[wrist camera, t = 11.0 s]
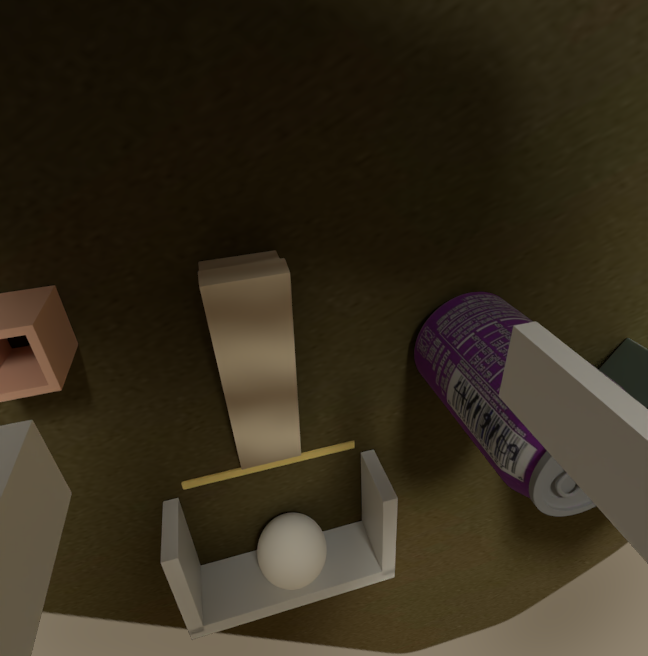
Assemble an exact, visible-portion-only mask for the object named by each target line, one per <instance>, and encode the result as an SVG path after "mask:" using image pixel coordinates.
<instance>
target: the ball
mask: <svg viewBox="0 0 648 656" xmlns="http://www.w3.org/2000/svg"><path fill="white" fill-rule="evenodd" d="M326 555H327V545H326V540H325V536H324V534H323V532H322V530H321V528H320V527H319V525H318V524H317V523H316V522H315V521H314V520H313V519H311V518H310V517H308V516H306V515H304V514H301V513H295V512H291V513H285V514H282V515H279V516H277V517H276V518H274V519H273V520H272V521H270V522H269V523H268V524H267V525H266V527H265V528H264V530H263V531H262V533H261V535H260V538H259V541H258V546H257V559H258V563H259V567H260V569H261V571H262V573H263V575H264V576H265V577H266V579H267V580H268V581H269V582H271V583H272V584H273V585H275V586H277V587H279V588H282V589H286V590H296V589H300V588H303V587H305V586H307V585H309V584H310V583H312V582H313V581H314V580H315V579H316V578H317V577H318V575H319V574H320V572H321V571H322V569H323V566H324V564H325V560H326Z"/></svg>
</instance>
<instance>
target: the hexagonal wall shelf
mask: <svg viewBox="0 0 648 656" xmlns="http://www.w3.org/2000/svg"><path fill="white" fill-rule="evenodd" d="M599 370H600V371H601V372H603V373H604V374H605V375H607V376H608V377H609V378H611V379H612V380H613V381H615V382H616V383H617V384H619V385H620V386H621V387H622V388H623V389H624V390H625V391H626V392H627V393H628V394H629V395H630V396H632V397H633V398H634V399H635V400H637V401H638V402H639V403H641V404H642V405H643V406H644V407H648V349H647V348H645V347H643V346H641V345H640V344H638V343H636V342H635V341H633V340H631V339H629V338H627V339H625V341H624V342H623V343H622V344H621V345H620V346H619V347H618V348H617V350H616V351H615V352H614V353H613V354H612V355H611V356H610V357H609V358H608V360H607V361H606V362H605V363H604V364H603V365H602V366H601V367H600V368H599Z"/></svg>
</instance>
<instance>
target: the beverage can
mask: <svg viewBox="0 0 648 656" xmlns="http://www.w3.org/2000/svg"><path fill="white" fill-rule="evenodd" d="M530 322H533V321H532V320H530V319H529V318H528V317H526V316H525V315H524V314H522V313H521V312H520V311H518V310H517V309H515V308H514V307H513V306H511V305H510V304H509V303H507V302H506V301H505V300H503V299H502V298H500V297H499V296H497V295H495V294H492V293H488V292H471V293H466V294H463V295H460V296H457V297H455V298H453V299H451V300H449V301H448V302H446V303H445V304H443V305H442V306H440V307H439V308H438V309H437V310H436V311H435V312H434V313H433V314H432V315H431V316H430V317H429V318H428V319H427V321H426V322H425V323H424V325H423V327H422V328H421V330H420V332H419V334H418V337H417V340H416V343H415V349H414V359H415V364H416V367H417V369H418V371H419V372H420V374H421V375H422V376H423V378H424V379H425V380H426V382H427V383H428V384H429V385H430V387H431V388H432V389H433V391H434V392H435V393H436V395H437V396H438V397H439V398H440V400H441V401H442V402H443V404H444V405H445V406H446V407H447V409H448V410H449V411H450V413H451V414H452V415H453V416H454V418H455V419H456V420H457V422H458V423H459V424H460V425H461V427H462V428H463V429H464V431H465V432H466V433H467V435H468V436H469V437H470V438H471V440H472V441H473V442H474V444H475V445H476V446H477V447H478V449H479V450H480V451H481V453H482V454H483V455H484V456H485V458H486V459H487V460H488V462H489V463H490V464H491V466H492V467H493V468H494V469H495V471H496V472H497V473H498V475H499V476H500V477H501V478H502V480H503V481H504V482H505V483H506V484H507V485H508V486H509V487H510V488H511V489H513V490H515V491H516V492H518V493H520V494H522V495H524V496H526V497H528V498H530V499H531V500H532V502H533V503H534V504H535V506H536V507H537V508H538V509H539V510H540V511H541V512H542V513H544V514H547V515H550V516H569V515H574V514H578V513H581V512H584V511H586V510H589V509H591V508H593V507H595V506H596V505H595V504H594V503H593V502H592V500H591V499H590V498H589V497H588V496H587V495H586V494H585V493H584V492H583V490H582V489H581V488H580V487H579V486H578V485H577V484H576V483H575V481H574V480H573V479H572V478H571V477H570V476H569V475H568V474H567V472H566V471H565V470H564V469H563V468H562V467H561V466H560V465H559V464H558V462H557V461H556V460H555V459H554V458H553V457H552V456H551V455H550V453H549V452H548V451H547V450H546V449H545V448H544V447H543V446H542V444H541V443H540V442H539V441H538V440H537V439H536V438H535V437H534V436H533V434H532V433H531V432H530V431H529V430H528V429H527V428H526V427H525V425H524V424H523V423H522V422H521V421H520V420H519V419H518V418H517V416H516V415H515V414H514V413H513V412H512V411H511V410H510V409H509V408H508V406H507V405H506V404H505V403H504V402H503V401H502V400H501V399H500V397H499V392H500V387H501V383H502V378H503V373H504V368H505V363H506V359H507V354H508V349H509V344H510V340H511V335H512V330H513V326H515V325H520V324H525V323H530ZM587 362H588V361H587ZM588 363H589V362H588ZM591 365H592V364H591ZM592 366H593V365H592ZM595 368H596V367H595ZM596 369H597V368H596ZM597 370H598V369H597ZM599 371H600V370H599ZM600 372H601V371H600ZM601 373H602V374H604V373H603V372H601ZM604 375H605V374H604ZM605 376H606V377H607V378H609V377H608V376H607V375H605ZM609 379H610V380H611V381H613V380H612V379H611V378H609ZM613 382H614V383H615V384H616V385H618V386H619V387H620V388H621V389H623V388H622V387H621V386H620V385H619V384H617V383H616V382H615V381H613ZM623 390H624V389H623ZM624 391H625V390H624ZM625 392H626V391H625Z"/></svg>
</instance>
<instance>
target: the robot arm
mask: <svg viewBox="0 0 648 656" xmlns="http://www.w3.org/2000/svg"><path fill="white" fill-rule="evenodd" d="M499 397H500V399H501V400H502V401H503V402H504V403H505V404H506V405H507V406H508V408H509V409H510V410H511V411H512V412H513V413H514V414H515V415H516V416H517V418H518V419H519V420H520V421H521V422H522V423H523V424H524V425H525V427H526V428H527V429H528V430H529V431H530V432H531V433H532V434H533V436H534V437H535V438H536V439H537V440H538V441H539V442H540V443H541V444H542V446H543V447H544V448H545V449H546V450H547V451H548V452H549V453H550V455H551V456H552V457H553V458H554V459H555V460H556V461H557V462H558V464H559V465H560V466H561V467H562V468H563V469H564V470H565V471H566V472H567V474H568V475H569V476H570V477H571V478H572V479H573V480H574V481H575V483H576V484H577V485H578V486H579V487H580V488H581V489H582V490H583V492H584V493H585V494H586V495H587V496H588V497H589V498H590V499H591V500H592V502H593V503H594V504H595V505H596V506H597V507H598V508H599V509H600V511H601V512H602V513H603V514H604V515H605V516H606V517H607V518H608V520H609V521H610V522H611V523H612V524H613V525H614V526H615V527H616V528H617V530H618V531H619V532H620V533H621V534H622V535H623V536H624V537H625V539H626V540H627V541H628V542H629V543H630V544H631V545H632V546H633V547H634V548H635V550H636V551H637V552H638V553H639V554H640V555H641V556H642V557H643V559H644V560H645V561H646V562H647V563H648V407H644V406H643V405H642V404H641V403H639V402H638V401H637V400H635V399H634V398H633V397H632V396H630V395H629V394H628V393H627V392H625V391H624V390H623V389H621V388H620V387H619V386H618V385H616V384H615V383H614V382H613V381H611V380H610V379H609V378H607V377H606V376H605V375H604V374H602V373H601V372H600V371H599V370H597V369H596V368H595V367H594V366H592V365H591V364H590V363H588V362H587V361H586V360H585V359H583V358H582V357H581V356H580V355H578V354H577V353H576V352H574V351H573V350H572V349H571V348H569V347H568V346H567V345H566V344H564V343H563V342H562V341H560V340H559V339H558V338H557V337H555V336H554V335H553V334H552V333H550V332H549V331H548V330H547V329H545V328H544V327H543V326H541V325H540V324H539V323H538V322H536V321H535V322H530V323H525V324H520V325H515V326H513V330H512V335H511V340H510V344H509V349H508V354H507V359H506V363H505V368H504V373H503V378H502V383H501V387H500V392H499ZM71 494H72V493H71V491H70V489H69V487H68V485H67V483H66V481H65V480H64V478H63V476H62V474H61V472H60V470H59V468H58V466H57V465H56V463H55V461H54V459H53V457H52V455H51V453H50V451H49V450H48V448H47V446H46V444H45V442H44V440H43V438H42V437H41V435H40V433H39V431H38V429H37V427H36V425H35V423H34V422H33V420H28V421H23V422H18V423H13V424H8V425H3V426H0V656H31V654H32V650H33V646H34V642H35V638H36V634H37V630H38V626H39V622H40V618H41V614H42V610H43V606H44V602H45V598H46V594H47V590H48V586H49V582H50V578H51V574H52V570H53V566H54V562H55V558H56V554H57V550H58V546H59V542H60V538H61V534H62V530H63V526H64V522H65V518H66V514H67V510H68V506H69V502H70V498H71Z"/></svg>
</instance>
